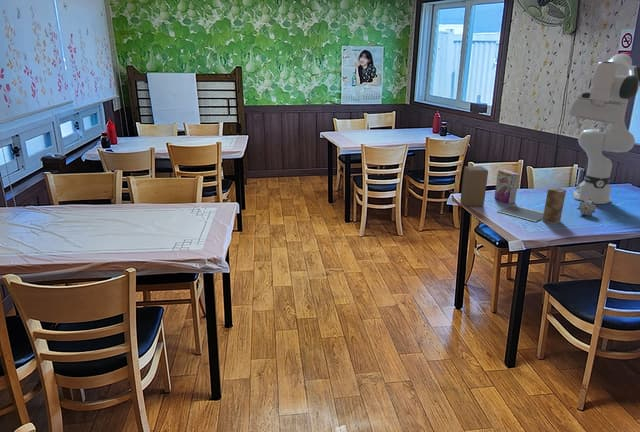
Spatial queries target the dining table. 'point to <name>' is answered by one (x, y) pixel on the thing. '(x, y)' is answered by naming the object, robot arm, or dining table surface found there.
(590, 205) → the cream knobbly lump
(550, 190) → the walnut block
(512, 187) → the candy bar box
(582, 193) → the robot arm
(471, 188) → the wooden block
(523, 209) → the grey flat plate
